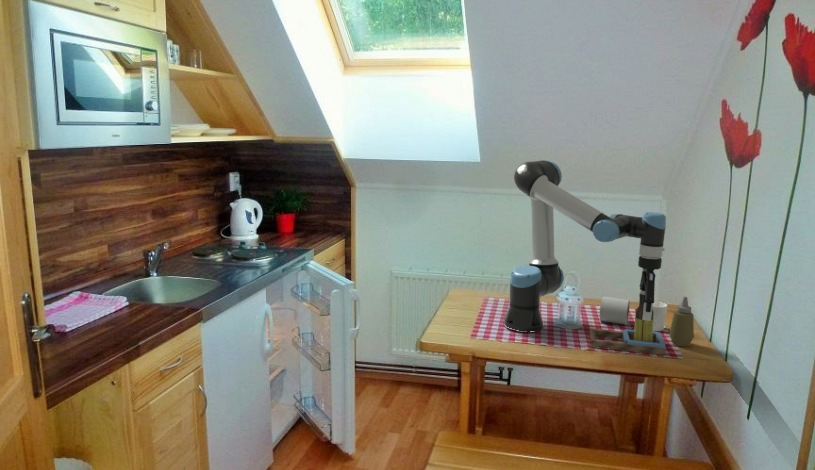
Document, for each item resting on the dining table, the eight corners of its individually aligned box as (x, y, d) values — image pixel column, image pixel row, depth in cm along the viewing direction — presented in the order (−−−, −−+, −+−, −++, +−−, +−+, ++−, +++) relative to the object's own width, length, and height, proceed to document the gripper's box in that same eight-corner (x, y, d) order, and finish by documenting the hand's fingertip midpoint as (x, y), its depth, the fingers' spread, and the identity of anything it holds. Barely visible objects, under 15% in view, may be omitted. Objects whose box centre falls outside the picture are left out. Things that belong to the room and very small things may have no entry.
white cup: (667, 332, 227) (669, 307, 225) (645, 331, 228) (647, 306, 227) (662, 325, 234) (665, 301, 233) (641, 324, 236) (644, 300, 234)
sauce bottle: (653, 345, 214) (657, 292, 210) (650, 350, 209) (654, 296, 205) (634, 341, 217) (638, 289, 214) (631, 346, 212) (635, 293, 208)
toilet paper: (628, 320, 240) (630, 297, 238) (625, 328, 232) (627, 303, 230) (603, 316, 245) (604, 293, 243) (598, 324, 236) (600, 300, 234)
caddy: (590, 347, 211) (591, 337, 211) (589, 334, 224) (590, 325, 223) (664, 354, 205) (665, 345, 204) (659, 341, 217) (660, 332, 217)
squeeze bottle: (689, 341, 218) (694, 294, 215) (695, 349, 210) (700, 301, 207) (666, 339, 220) (671, 293, 216) (671, 347, 212) (675, 299, 209)
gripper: (667, 265, 194) (660, 326, 198) (657, 249, 217) (651, 304, 222) (643, 264, 196) (636, 324, 200) (635, 248, 219) (630, 302, 224)
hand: (644, 314), depth 211 cm, fingers open, 13 cm apart
